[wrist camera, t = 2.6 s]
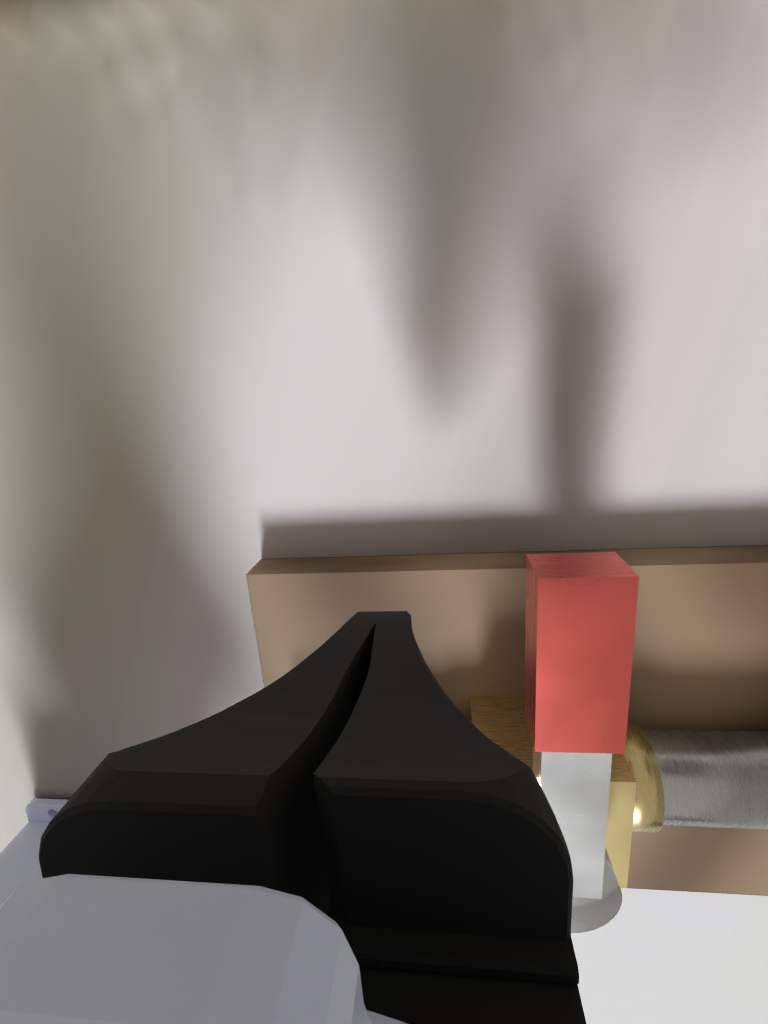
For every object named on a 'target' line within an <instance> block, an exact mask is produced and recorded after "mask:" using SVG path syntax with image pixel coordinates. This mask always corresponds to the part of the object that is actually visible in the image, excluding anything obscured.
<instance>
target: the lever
mask: <svg viewBox="0 0 768 1024" xmlns="http://www.w3.org/2000/svg"><path fill="white" fill-rule="evenodd" d="M638 587H639V576H638V574H637V573H636V572H635V571H634V570H633V569H632V568H631V567H630V566H629V565H628V564H627V563H626V562H625V561H624V560H623V559H622V558H621V557H620V556H619V555H618V554H617V553H616V552H585V553H548V554H526V612H525V704H524V712H525V715H526V719H527V723H528V727H529V731H530V735H531V739H532V743H533V773H534V775H535V777H536V778H537V780H538V782H539V784H540V786H541V788H542V790H543V792H544V793H545V795H546V798H547V800H548V802H549V804H550V806H551V808H552V810H553V812H554V814H555V817H556V819H557V822H558V824H559V826H560V829H561V831H562V834H563V836H564V839H565V841H566V844H567V848H568V851H569V854H570V858H571V863H572V871H573V898H572V918H571V933H579V932H587V931H591V930H594V929H597V928H599V927H601V926H603V925H605V924H606V923H608V922H609V921H610V920H612V919H613V918H614V917H615V915H616V914H617V913H618V911H619V909H620V906H621V902H622V893H621V889H620V886H619V884H618V881H617V878H616V875H615V872H614V869H613V867H612V864H611V861H610V858H609V855H608V853H607V850H606V847H605V846H606V832H607V819H608V805H609V791H610V777H611V763H612V754H625V747H626V734H627V722H628V710H629V697H630V685H631V673H632V660H633V648H634V636H635V624H636V611H637V599H638Z"/></svg>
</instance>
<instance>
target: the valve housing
mask: <svg viewBox="0 0 768 1024" xmlns="http://www.w3.org/2000/svg"><path fill="white" fill-rule="evenodd" d="M524 704H525V696H470V721H471V722H472V723H473V724H474V725H475V726H476V727H477V728H478V729H479V730H480V731H481V732H482V733H483V734H484V735H485V736H487V737H488V738H489V739H490V740H491V741H493V742H494V743H495V744H497V745H498V746H500V747H501V748H503V749H504V750H506V751H507V752H509V753H510V754H512V755H513V756H515V757H516V758H518V759H519V760H520V761H522V762H523V763H525V764H526V765H528V766H529V767H530V768H531V770H532V771H533V743H532V739H531V735H530V731H529V727H528V723H527V719H526V715H525V712H524ZM663 825H670V826H695V827H720V828H745V829H768V732H758V731H698V730H642V728H641V727H640V726H639V725H637V724H635V723H627V734H626V747H625V754H612V763H611V777H610V791H609V805H608V819H607V832H606V846H605V847H606V850H607V853H608V855H609V858H610V861H611V864H612V867H613V869H614V872H615V875H616V878H617V881H618V884H619V886H620V888H627V882H628V871H629V860H630V849H631V838H632V831H634V832H659V831H660V830H661V828H662V826H663Z"/></svg>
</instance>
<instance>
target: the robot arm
mask: <svg viewBox="0 0 768 1024" xmlns="http://www.w3.org/2000/svg"><path fill="white" fill-rule="evenodd" d="M25 809H26V814H27V817H28V820H29V823H28V824H27V825H26V826H25V827H24V828H23V829H22V830H21V831H20V832H19V834H18V835H17V836H16V837H15V838H14V839H13V840H12V841H11V842H10V843H9V845H8V846H7V847H6V848H5V849H4V850H3V851H2V852H1V853H0V1024H586V1021H585V1016H584V1012H583V1007H582V1003H581V999H580V994H579V990H578V985H577V984H579V973H578V965H577V961H576V957H575V953H574V948H573V944H572V940H571V918H572V898H573V871H572V863H571V858H570V854H569V851H568V848H567V844H566V841H565V839H564V836H563V834H562V831H561V829H560V826H559V824H558V822H557V819H556V817H555V814H554V812H553V810H552V808H551V806H550V804H549V802H548V800H547V798H546V795H545V793H544V792H543V790H542V788H541V786H540V784H539V782H538V780H537V778H536V777H535V775H534V773H533V771H532V770H531V768H530V767H529V766H528V765H526V764H525V763H523V762H522V761H520V760H519V759H518V758H516V757H515V756H513V755H512V754H510V753H509V752H507V751H506V750H504V749H503V748H501V747H500V746H498V745H497V744H495V743H494V742H493V741H491V740H490V739H489V738H488V737H487V736H485V735H484V734H483V733H482V732H481V731H480V730H479V729H478V728H477V727H476V726H475V725H474V724H473V723H472V722H471V721H470V720H469V719H468V718H467V717H466V716H465V715H464V714H463V713H462V712H461V711H460V710H459V709H458V708H457V707H456V706H455V704H454V703H453V702H452V701H451V700H450V698H449V697H448V696H447V694H446V693H445V692H444V690H443V689H442V688H441V686H440V685H439V683H438V682H437V680H436V679H435V677H434V676H433V674H432V672H431V671H430V669H429V667H428V665H427V664H426V662H425V660H424V658H423V656H422V654H421V652H420V649H419V647H418V645H417V643H416V640H415V637H414V634H413V631H412V620H411V615H410V614H409V613H408V612H407V611H369V612H357V613H356V614H355V615H353V616H352V617H351V618H350V619H349V620H348V621H347V622H346V623H345V624H344V625H343V626H342V627H341V628H340V629H339V630H338V631H337V632H336V633H335V634H333V635H332V636H331V637H330V638H329V639H328V640H327V641H326V642H325V643H324V644H322V645H321V646H320V647H319V648H318V649H317V650H315V651H314V652H313V653H312V654H310V655H309V656H308V657H307V658H306V659H304V660H303V661H302V662H301V663H299V664H298V665H297V666H296V667H294V668H293V669H292V670H290V671H289V672H288V673H286V674H285V675H283V676H282V677H280V678H279V679H278V680H276V681H274V682H273V683H271V684H270V685H268V686H267V687H265V688H263V689H262V690H260V691H259V692H257V693H255V694H253V695H252V696H250V697H248V698H246V699H244V700H242V701H240V702H238V703H236V704H235V705H233V706H231V707H229V708H227V709H225V710H223V711H221V712H219V713H217V714H215V715H213V716H211V717H209V718H206V719H204V720H202V721H200V722H197V723H195V724H193V725H190V726H188V727H185V728H183V729H180V730H178V731H175V732H173V733H170V734H167V735H165V736H162V737H159V738H156V739H153V740H150V741H147V742H144V743H141V744H138V745H135V746H132V747H129V748H126V749H123V750H120V751H117V752H113V753H110V754H108V755H107V756H106V758H105V759H104V760H103V761H102V762H101V763H100V764H99V765H98V767H97V768H96V769H95V770H94V771H93V772H92V774H91V775H90V776H89V777H88V778H87V779H86V781H85V782H84V783H83V784H82V785H81V786H80V787H79V789H78V790H77V791H76V792H75V793H74V794H73V796H72V797H71V798H70V799H69V800H65V799H40V798H38V799H33V800H32V801H31V802H30V803H29V804H28V805H27V806H26V808H25Z"/></svg>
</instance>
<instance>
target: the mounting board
mask: <svg viewBox="0 0 768 1024" xmlns="http://www.w3.org/2000/svg"><path fill="white" fill-rule="evenodd" d="M585 552H616V553H617V554H618V555H619V556H620V557H621V558H622V559H623V560H624V561H625V562H626V563H627V564H628V565H629V566H630V567H631V568H632V569H633V570H634V571H635V572H636V573H637V574H638V576H639V587H638V599H637V611H636V624H635V636H634V648H633V660H632V673H631V685H630V697H629V710H628V722H627V723H635V724H637V725H639V726H640V727H641V728H642V730H698V731H758V732H768V545H761V546H725V547H688V548H652V549H615V550H579V551H543V552H506V553H470V554H433V555H397V556H361V557H324V558H288V559H261V560H260V561H259V562H258V563H257V564H256V565H255V566H254V567H253V568H252V569H251V570H250V571H249V572H248V574H247V575H246V576H247V583H248V589H249V595H250V601H251V607H252V613H253V620H254V626H255V632H256V638H257V644H258V650H259V657H260V663H261V669H262V675H263V681H264V687H267V686H268V685H270V684H271V683H273V682H274V681H276V680H278V679H279V678H280V677H282V676H283V675H285V674H286V673H288V672H289V671H290V670H292V669H293V668H294V667H296V666H297V665H298V664H299V663H301V662H302V661H303V660H304V659H306V658H307V657H308V656H309V655H310V654H312V653H313V652H314V651H315V650H317V649H318V648H319V647H320V646H321V645H322V644H324V643H325V642H326V641H327V640H328V639H329V638H330V637H331V636H332V635H333V634H335V633H336V632H337V631H338V630H339V629H340V628H341V627H342V626H343V625H344V624H345V623H346V622H347V621H348V620H349V619H350V618H351V617H352V616H353V615H355V614H356V613H357V612H369V611H407V612H408V613H409V614H410V615H411V620H412V631H413V634H414V637H415V640H416V643H417V645H418V647H419V649H420V652H421V654H422V656H423V658H424V660H425V662H426V664H427V665H428V667H429V669H430V671H431V672H432V674H433V676H434V677H435V679H436V680H437V682H438V683H439V685H440V686H441V688H442V689H443V690H444V692H445V693H446V694H447V696H448V697H449V698H450V700H451V701H452V702H453V703H454V704H455V706H456V707H457V708H458V709H459V710H460V711H461V712H462V713H463V714H464V715H465V716H466V717H467V718H468V719H469V720H470V696H525V612H526V554H548V553H585ZM627 888H635V889H654V890H672V891H690V892H708V893H726V894H744V895H762V896H768V829H745V828H720V827H695V826H670V825H663V826H662V828H661V830H660V831H659V832H634V831H632V838H631V849H630V860H629V871H628V882H627Z"/></svg>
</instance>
